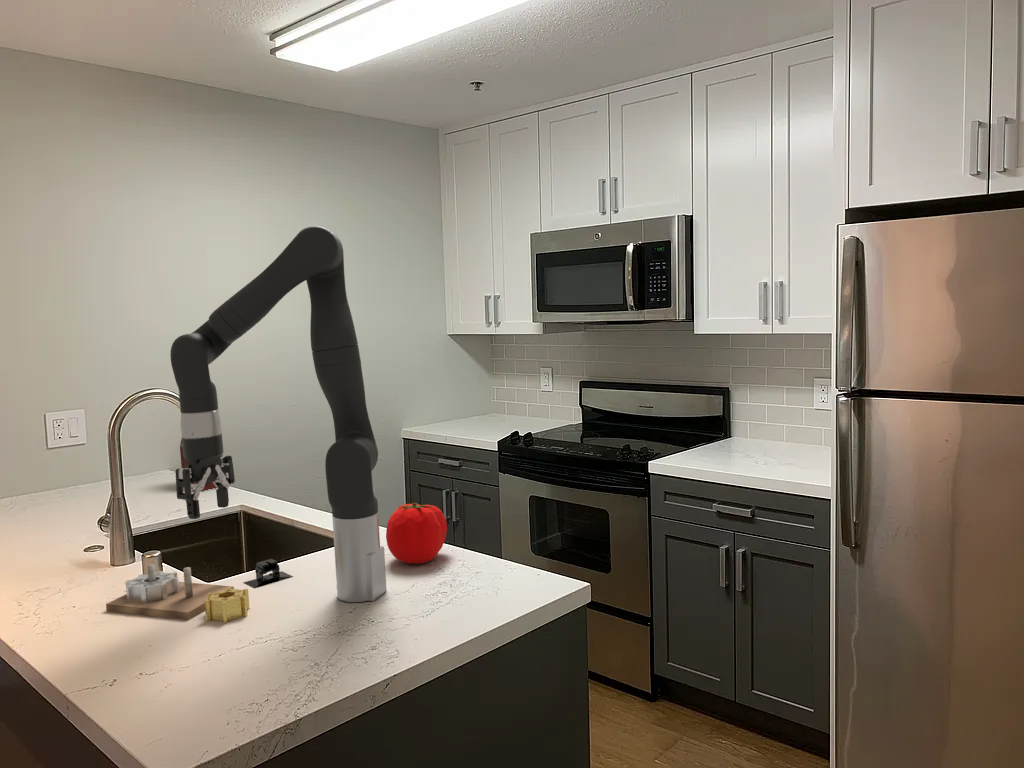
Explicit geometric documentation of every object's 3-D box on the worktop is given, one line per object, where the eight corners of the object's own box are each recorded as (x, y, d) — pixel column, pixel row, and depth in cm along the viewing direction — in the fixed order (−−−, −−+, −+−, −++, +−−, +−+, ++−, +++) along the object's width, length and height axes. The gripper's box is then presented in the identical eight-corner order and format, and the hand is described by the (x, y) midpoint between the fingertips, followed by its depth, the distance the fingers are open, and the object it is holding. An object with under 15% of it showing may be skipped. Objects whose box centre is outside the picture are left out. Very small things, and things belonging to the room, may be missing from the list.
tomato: (407, 575, 175) (404, 514, 174) (374, 561, 186) (371, 503, 184) (463, 557, 186) (461, 500, 184) (429, 545, 196) (426, 490, 194)
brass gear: (222, 605, 162) (220, 586, 161) (258, 608, 159) (256, 589, 159) (197, 620, 155) (195, 600, 154) (234, 624, 152) (232, 603, 152)
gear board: (234, 593, 168) (231, 558, 167) (189, 619, 155) (185, 582, 154) (156, 586, 174) (153, 553, 173) (106, 611, 161) (103, 575, 160)
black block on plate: (249, 594, 169) (247, 573, 169) (233, 586, 174) (232, 566, 174) (301, 578, 178) (300, 557, 177) (285, 570, 183) (284, 551, 182)
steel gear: (189, 586, 169) (188, 572, 169) (155, 604, 160) (154, 589, 159) (151, 583, 172) (149, 569, 172) (116, 600, 163) (114, 586, 162)
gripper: (192, 440, 151) (200, 523, 153) (240, 427, 164) (247, 504, 166) (160, 439, 153) (168, 521, 155) (210, 427, 167) (217, 502, 169)
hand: (209, 512), depth 161 cm, fingers open, 8 cm apart
